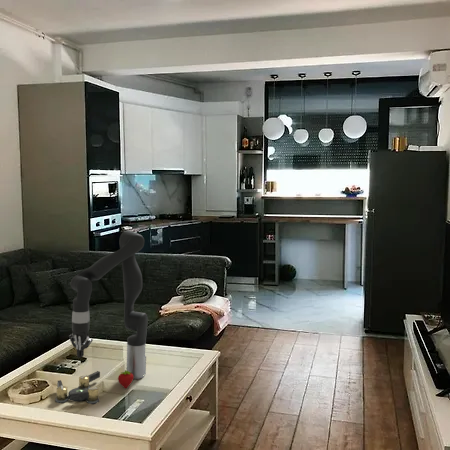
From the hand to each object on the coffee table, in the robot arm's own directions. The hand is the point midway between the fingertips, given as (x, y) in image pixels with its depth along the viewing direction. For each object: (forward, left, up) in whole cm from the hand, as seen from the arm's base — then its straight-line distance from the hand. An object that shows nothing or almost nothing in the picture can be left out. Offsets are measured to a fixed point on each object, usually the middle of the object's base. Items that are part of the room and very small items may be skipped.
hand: (80, 356), depth 226 cm
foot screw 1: (+5, -7, -18) cm, 20 cm away
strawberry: (-18, +12, -19) cm, 29 cm away
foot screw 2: (+3, +6, -18) cm, 19 cm away
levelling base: (0, +2, -19) cm, 19 cm away
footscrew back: (-11, -4, -18) cm, 21 cm away
